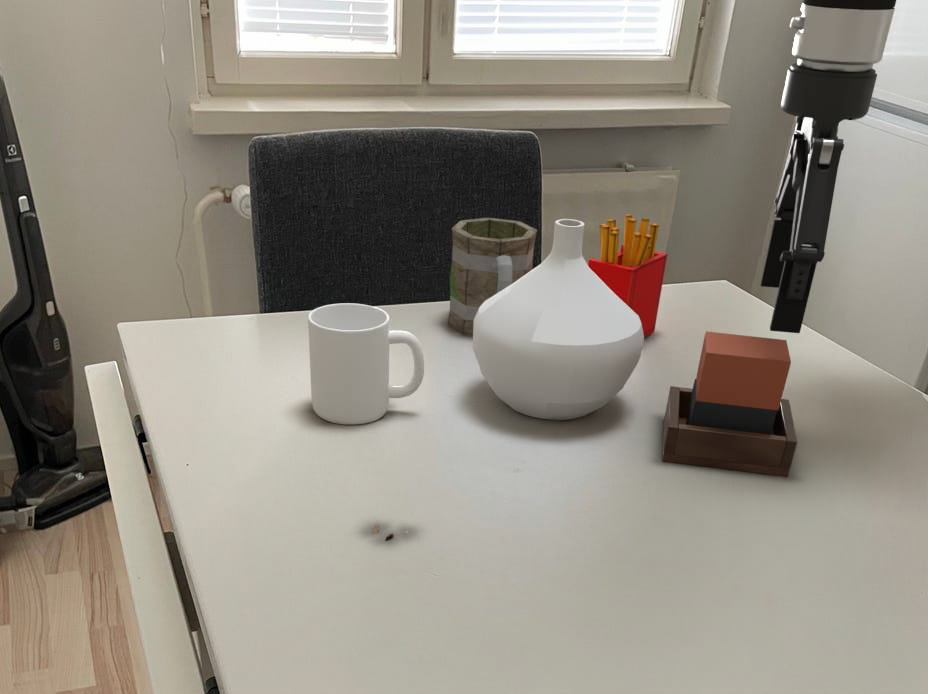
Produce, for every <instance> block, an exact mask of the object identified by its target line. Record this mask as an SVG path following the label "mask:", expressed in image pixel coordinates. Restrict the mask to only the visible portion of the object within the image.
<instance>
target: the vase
mask: <svg viewBox="0 0 928 694" xmlns="http://www.w3.org/2000/svg"><path fill="white" fill-rule="evenodd" d="M584 231H585V222H584V221H581V220H577V219H572V218H561V219H556V220H555V221H554V230H553V240H552V247H551V250H550V253H549V254H548V255H547V257H546V258H545V259H544V260H543V261H542V262H540V264H538V265H537V266H536V267H534V268H533V270H531V271H530V272H528V273H527V274H526V275H524V276H523V277H521V278H520V279H518V280H517V281H516V282H514V283H513V284H511V285H509V286H508V287H506V288H505V289H503V290H502V291H500V292H498V293H497V294H495V295H494V296H492V297H491V298H489V299H487V300H486V301H484V303H483V304H482V305H481V306H480V307H479V309H478V312H477V314H476V316H475V318H474V324H473V337H472V349H473V352H474V355H475V358H476V361H477V364H478V367H479V369H480V372H481V375H482V376H483V378H484V380H485V381H486V383H487V384H488V385H489V387H490V388H491V389H492V391H493V392H494V394H495V395H496V397H498V398H499V399H500V400H501V401H502V402H504V403H505V404H506V405H507V406H508V407H510V408H511V409H513V410H514V411H516V412H518V413H520V414H523V415H526V416H529V417H533V418H536V419H543V420H552V421H553V420H554V421H563V420H573V419H578V418H582V417H585V416H587V415H590V414H591V413H593V412H595V411H597V410H600V409H601V408H602V407H603V406H605V405H606V404H607V403H609V402H610V401H611V400H612V399H613V398H614V397H615V396H616V395H617V394H618V393H620V392H621V391H622V389H623V388H624V387H625V385H626V384H627V382H628V380H629V378H631V375H632V374H633V372H634V370H635V369H636V367H637V365H638V364H639V362H640V359H641V357H642V350H643V345H644V340H645V338H644V334H643V329H642V324H641V321H640V318H639V316H638V315H637V314H636V313H635V312H634V311H633V310H632V309H631V308H630V307H628V306H627V305H626V304H625V303H624V302H623V301H622V300H621V299H620V298H619V297H618V296H617V295H616V294H615V293H614V292H613V291H612V290H611V289H610V288H609V287H608V286H607V285H606V284H605V283H604V282H603V281H602V280H601V279H600V278H599V277H598V276H597V275H596V274H595V273H594V272H593V271H592V270H591V269H590V268H589V267H588V263H587V262H586V260H585V258H584V256H583V250H582V249H583V240H584V239H583V238H584V233H585V232H584Z"/></svg>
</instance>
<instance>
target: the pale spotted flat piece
mask: <svg viewBox="0 0 928 694" xmlns="http://www.w3.org/2000/svg"><path fill="white" fill-rule="evenodd" d="M379 528H380V523H377V524H374V525H373V526H372V528H371V534H378V532H379V530H380V529H379ZM407 534H408V531H407V530H406V531H405V533H404V535H407ZM384 536H386V534H384ZM394 536H395V534H394V533H390V534H388V535H387V536H386V537H385V540H384V541H386V540H387V539H388V538H392V537H394Z"/></svg>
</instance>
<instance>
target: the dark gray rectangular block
mask: <svg viewBox="0 0 928 694" xmlns="http://www.w3.org/2000/svg"><path fill="white" fill-rule="evenodd" d="M692 389H693V390H692V395H691V400H690V405H689V410H688V415H687V420H686V425H693V426H702V427H710V428H718V429H727V430H735V431H743V432H751V433H760V434H768V435H771V432H772V428H773V424H774V420H775V417H776V413H777V410H770V409H761V408H753V407H744V406H736V405H727V404H719V403H710V402H702V401H696V378H694V381H693V387H692Z"/></svg>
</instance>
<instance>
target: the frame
mask: <svg viewBox="0 0 928 694" xmlns="http://www.w3.org/2000/svg"><path fill="white" fill-rule="evenodd" d="M692 390H693V388H691V387H683V386H673V385H670V386H669V390H668V391H669V392H668V396H667V402H666V407H665V413H664V419H663V433H662V434H663V437H662V454H661V455H662V457H661V461H662V462H669V463H676V464H685V465H692V466H693V465H694V466H700V467H708V468H717V469H724V470H734V471H740V472H750V473H756V474H765V475H773V476H779V477H780V476H781V477H788V476H789V474H790V470H791V466H792V463H793V459H794V456H795V452H796V448H797V445H798V439H797V434H796V429H795V423H794V419H793V414H792V408H791V404H790V403H791V402H790V400H789V399H786V398H782V399H781V402H780V406H779V410H777V413H776V417H775V420H774V424H773V428H772V432H771V435H768V434H760V433H751V432H743V431H735V430H727V429H718V428H710V427H702V426H693V425H686V420H687V415H688V410H689V405H690V400H691V395H692Z"/></svg>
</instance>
